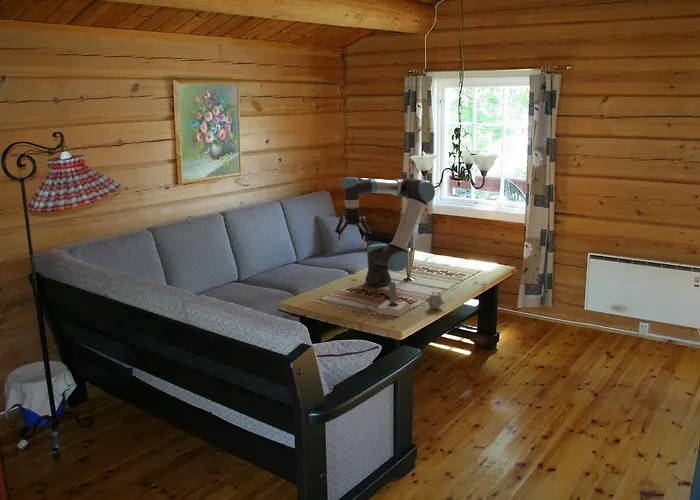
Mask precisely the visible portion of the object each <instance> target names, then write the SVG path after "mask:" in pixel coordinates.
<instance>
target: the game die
mask: <svg viewBox="0 0 700 500" xmlns="http://www.w3.org/2000/svg"><path fill="white" fill-rule="evenodd" d="M441 296H442V294H435V293H434V292H432V294H431V295H430V296H429V297H428V298H426V299H425V300H426V301H427V303H428V306H429V308H428V309H429V310H431V309H434V310H436V311H439V308H440V307H441V306H442V305H443V304H445V302H444V301H443V299H442V297H441Z"/></svg>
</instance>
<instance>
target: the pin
mask: <svg viewBox="0 0 700 500" xmlns="http://www.w3.org/2000/svg"><path fill="white" fill-rule="evenodd" d="M396 283H397V282H395V281H392V282H390V283H389V285H388V289H389V292H388V293H389V300H390V306H392V307H396V301H397V291H396V289H397V288H396V287H397V286H396Z"/></svg>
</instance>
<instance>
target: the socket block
mask: <svg viewBox="0 0 700 500" xmlns="http://www.w3.org/2000/svg"><path fill="white" fill-rule="evenodd" d="M409 307H410V306H409V302H407V301H400V300H399V301H397V300H396V307H392V306H390V299H389V300H385V301H384V302H382V303H381V304H380V305H378V306H377V307H376V308H377V309H376V311H377V312H376V313H377V315H383V314H384V315H385V316H392V317H401V316H403V314H405V313H406V312H407V311H408V310H409Z"/></svg>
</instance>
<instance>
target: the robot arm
mask: <svg viewBox="0 0 700 500" xmlns="http://www.w3.org/2000/svg"><path fill="white" fill-rule="evenodd" d="M341 187H342V189H343V191H344V192H343V193H344V214H345V215H343V214H342V215H340V216H339V221H338V223H337V226H336V228H335V230H334V232H335V234H336V233H337V234H338V241H339V242H340V243H339V244H340V247H343V246H345V239H344V238H345V237H344V236H345V235H344V234H345V233H343V232H344V230H346V228H347V227H348V226H356V227H357V228H358V229H359V231H361V233H362V234H363V236H362V240H363V241H362V242H363V245H362V246H363V247H362V248H363V249H366V248H367V250H366V254H367V273H366V277H365V285H366V286H368V287H376V288H379V287H380V288H381V287H387V286H389V283H390V282H393V281H392V277H391V276H392V275H390V271H391V272H396V273H397V272H401V271H403V270H405V269H406V267H407V266H408V264H409V255H408V252H409V250H408V248H407V247H408V245H409V243H410V240H411V237H412V235H413V233H414V230H415V228H416V225H417V222H418V221H419V217H420V215H421V212H422V210H423V208H425V207H426V206H427V205H428V203H430V202H431V201H433V200H434V198H435V196H436V189H435V186H434V184H433V182H431V181H429V180H426V179H417V178H394V179H393V180H392V179H380V178H379V179H378V178H377V179H376V178H365V177H356V176H355V177H353V176H346V177H343V178H342V181H341ZM372 193H375V194H376V193H377V194H389V195H392V196H397V197H401V198H405V199H406V201H407V204H406V207H405V209H404V212H403V214H402V217H401V219H400V222H399V224H398V227H397V229H396V231H395V234H394V237H393V239H392V241H391V242H389V243H382V242H381V243H374V244H370V245H368V241H369V235H371V234H372V231H371V228H370V227H369V225H368V222H367V220H366V216H360V196H361V195H365V194H372ZM344 221H345V222H344ZM343 223H344V224H343Z"/></svg>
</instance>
